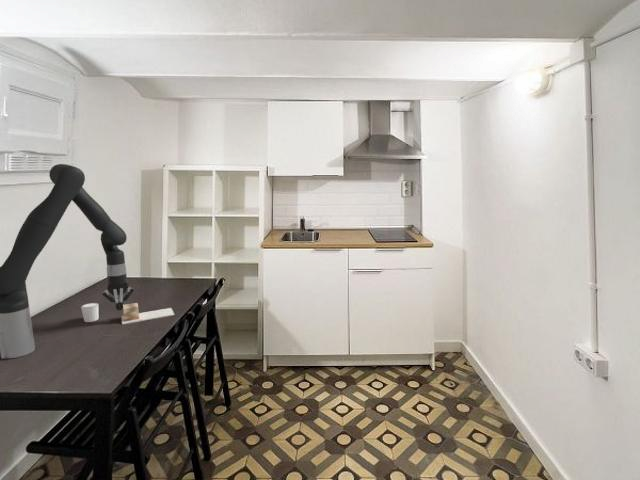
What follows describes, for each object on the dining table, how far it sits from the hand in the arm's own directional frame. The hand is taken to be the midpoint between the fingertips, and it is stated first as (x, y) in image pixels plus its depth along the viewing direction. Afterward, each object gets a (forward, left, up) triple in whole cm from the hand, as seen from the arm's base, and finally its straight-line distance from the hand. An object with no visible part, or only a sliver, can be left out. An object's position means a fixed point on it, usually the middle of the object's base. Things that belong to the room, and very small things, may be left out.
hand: (119, 309), depth 160 cm
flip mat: (+11, 0, -5) cm, 13 cm away
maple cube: (+4, 0, -5) cm, 7 cm away
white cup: (-12, +9, -6) cm, 16 cm away
